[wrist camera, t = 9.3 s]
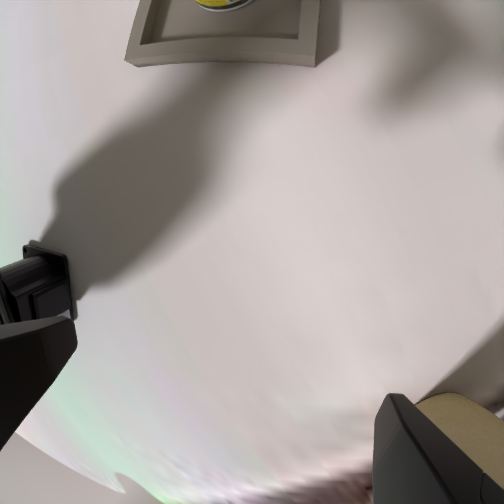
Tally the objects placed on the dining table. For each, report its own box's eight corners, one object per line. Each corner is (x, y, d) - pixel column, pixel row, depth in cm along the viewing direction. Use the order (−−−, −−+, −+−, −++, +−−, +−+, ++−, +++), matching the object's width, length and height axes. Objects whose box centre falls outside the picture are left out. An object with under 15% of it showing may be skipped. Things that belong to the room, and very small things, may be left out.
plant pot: (519, 399, 17) (579, 513, 2) (404, 483, 22) (414, 603, 7) (462, 314, 17) (582, 487, 2) (314, 431, 21) (290, 607, 6)
